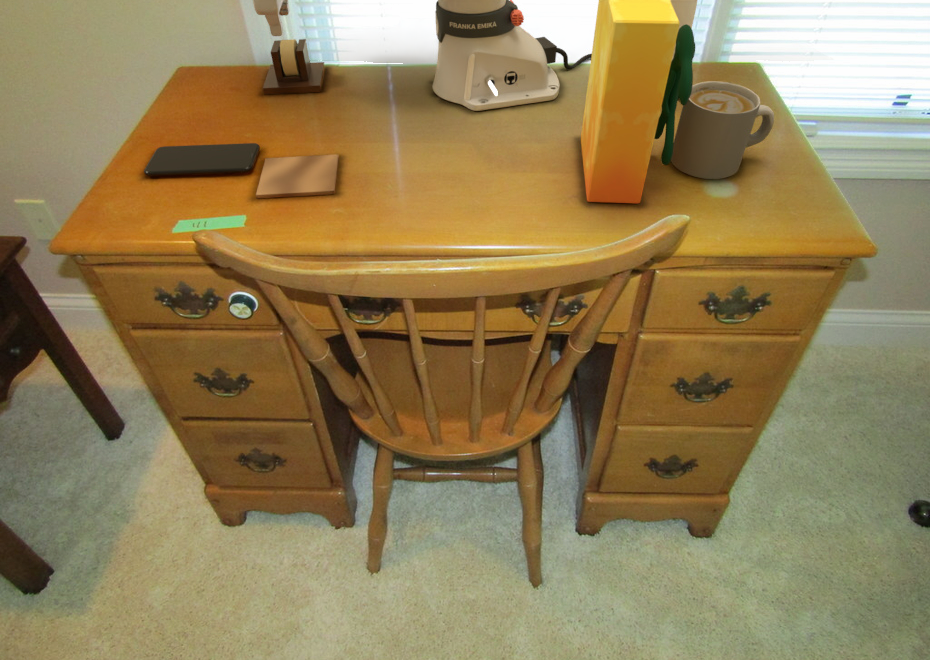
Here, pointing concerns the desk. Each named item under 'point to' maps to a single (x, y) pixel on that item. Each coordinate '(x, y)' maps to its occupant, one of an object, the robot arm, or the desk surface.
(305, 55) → the stand
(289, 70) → the tape roll
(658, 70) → the mottled yellow carton
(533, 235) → the desk surface
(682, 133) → the coffee mug
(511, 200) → the desk surface
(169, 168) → the smartphone
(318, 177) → the cork pad
